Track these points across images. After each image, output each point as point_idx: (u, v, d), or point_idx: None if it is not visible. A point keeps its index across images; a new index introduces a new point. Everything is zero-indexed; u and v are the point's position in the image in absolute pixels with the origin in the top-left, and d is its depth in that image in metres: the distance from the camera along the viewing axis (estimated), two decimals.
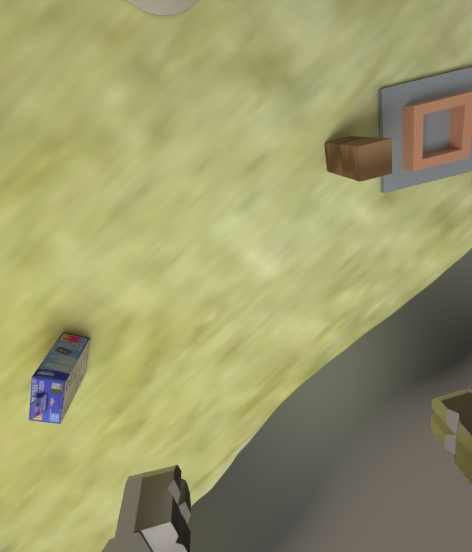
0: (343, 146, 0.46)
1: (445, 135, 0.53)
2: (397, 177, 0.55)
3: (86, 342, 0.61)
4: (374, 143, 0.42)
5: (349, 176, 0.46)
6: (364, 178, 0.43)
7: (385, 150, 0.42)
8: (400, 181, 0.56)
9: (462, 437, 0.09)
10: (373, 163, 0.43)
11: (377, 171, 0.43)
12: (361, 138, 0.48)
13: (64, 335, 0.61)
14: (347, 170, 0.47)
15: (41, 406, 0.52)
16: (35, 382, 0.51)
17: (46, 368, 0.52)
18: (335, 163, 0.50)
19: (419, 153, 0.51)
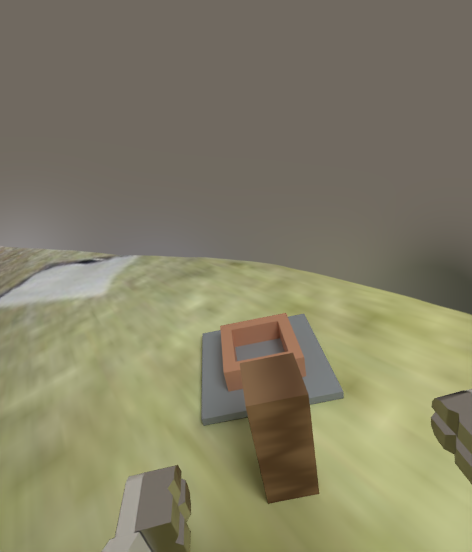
0: (257, 447, 0.25)
1: (265, 344, 0.45)
2: (318, 379, 0.38)
3: None
4: (244, 383, 0.25)
5: (308, 425, 0.24)
6: (302, 388, 0.23)
7: (256, 367, 0.26)
8: (323, 374, 0.39)
9: (462, 437, 0.09)
10: (277, 379, 0.24)
11: (290, 371, 0.25)
12: None
13: None
14: (298, 432, 0.24)
15: None
16: None
17: None
18: (295, 469, 0.26)
19: None
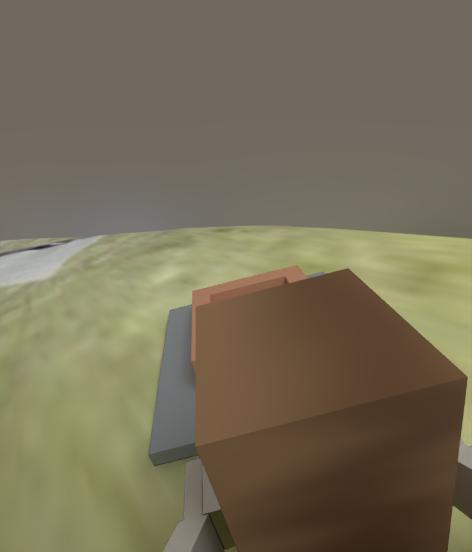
0: None
1: None
2: None
3: None
4: (201, 357, 0.07)
5: (441, 499, 0.07)
6: (425, 356, 0.06)
7: (244, 310, 0.08)
8: None
9: None
10: (315, 335, 0.07)
11: (356, 309, 0.07)
12: None
13: None
14: (402, 524, 0.07)
15: None
16: None
17: None
18: None
19: None
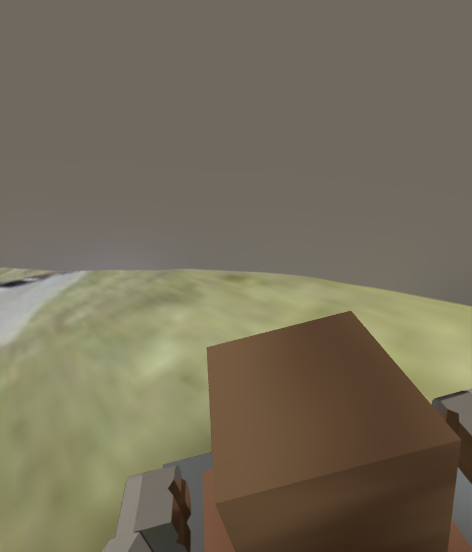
0: None
1: None
2: None
3: None
4: (215, 406, 0.08)
5: (438, 539, 0.07)
6: (423, 414, 0.06)
7: (253, 354, 0.09)
8: None
9: (462, 438, 0.09)
10: (321, 386, 0.07)
11: (359, 358, 0.08)
12: None
13: None
14: None
15: None
16: None
17: None
18: None
19: None
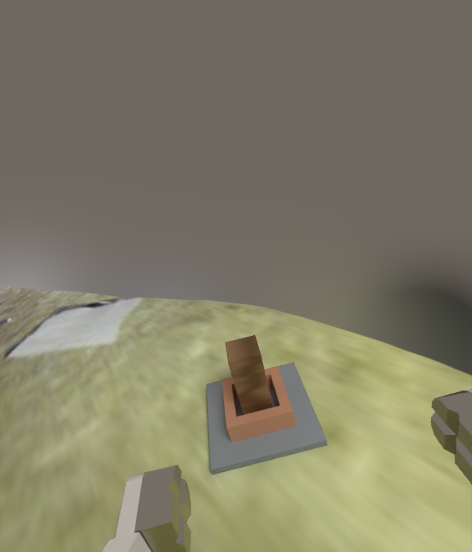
0: (236, 387, 0.45)
1: None
2: (306, 428, 0.46)
3: None
4: (227, 352, 0.45)
5: (263, 373, 0.45)
6: (257, 351, 0.44)
7: (234, 343, 0.47)
8: (310, 424, 0.46)
9: (462, 437, 0.09)
10: (245, 348, 0.45)
11: (252, 344, 0.46)
12: None
13: None
14: (258, 377, 0.45)
15: None
16: None
17: None
18: (259, 400, 0.47)
19: (274, 410, 0.46)
